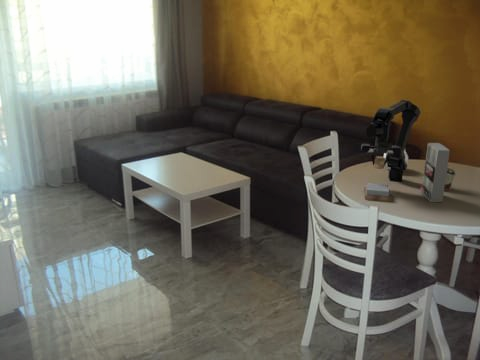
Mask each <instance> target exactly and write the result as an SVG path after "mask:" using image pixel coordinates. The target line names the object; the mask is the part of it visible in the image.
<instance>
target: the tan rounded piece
mask: <svg viewBox="0 0 480 360" xmlns="http://www.w3.org/2000/svg"><path fill="white" fill-rule="evenodd" d="M384 163H385V158H384V156H378V155H376V156H374V165H373V168H374V169H379V170H381V169H383V170H384V168H385V166H384Z"/></svg>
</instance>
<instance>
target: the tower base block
mask: <svg viewBox="0 0 480 360" xmlns="http://www.w3.org/2000/svg"><path fill="white" fill-rule="evenodd" d="M366 187H367V186H366ZM366 187H363V194H364V195H363V196H364V197H363V198H364V200H368V201H383V202H392V199H393V198H392V194H391V190H390V188H389V196H388V197H386V196H374V195H366Z"/></svg>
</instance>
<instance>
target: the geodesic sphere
mask: <svg viewBox="0 0 480 360" xmlns="http://www.w3.org/2000/svg"><path fill="white" fill-rule="evenodd" d="M406 150H407V148H405V149H404V154H405V162H406V164H407V165H408V161H409V155H408V153H407V152H406ZM383 157H384V158H385V157H386V153H383ZM384 167H386V168H387V169H388V170H390V167H387V163H386V165H385V166H384Z"/></svg>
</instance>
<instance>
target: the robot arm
mask: <svg viewBox="0 0 480 360" xmlns="http://www.w3.org/2000/svg"><path fill="white" fill-rule="evenodd" d="M400 113H401V120H402V123H401V127H400V129H399V132H398V137H397V139H396V142H395V145H392V144H393V143H392V142H389V141H388V140H389V135H390V134H389V132H390V126H392V121H393V120H394V119H395V116H396V115H398V114H400ZM420 114H421V110H420V108H419V107H418V106H417V105H415V104H414V103H413V102H412V101H410V100H408V99H401V100H399V102H396V103H394V104H393V105H390V106H389V107H382V108H378V109H377V110H376V112H375V114H374V116H373V118H372V120H371V122H370V124H369V126H368V127H367V128H366V129H365V134H366V136H367V137H368V138H371V139H373V138H375V142H374V146H373V145H371V144H370V143H362V144H361V146H360V151H361V152H365V153H367V154H369V155H370V158H371V161H372V162H371V163H372V165H373V166H374V159H375V151H376V153H377V154H384V153H386V157H385V163H384V167H386V166H385V165H386V163H387V167H390V169H388V180H389V181H393V182H403V181H404V180H403V174H404V171H406V170H407V168H408V163H407V164H406V162H405V154H404V151H405V150H404V149H406V145H407V144H408V143H407V142H408V139H409V137H410V133H411V130H412V127H413V125H414V124H415V123H416V122H417V121H418V119H419V117H420ZM387 167H386V168H387Z"/></svg>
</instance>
